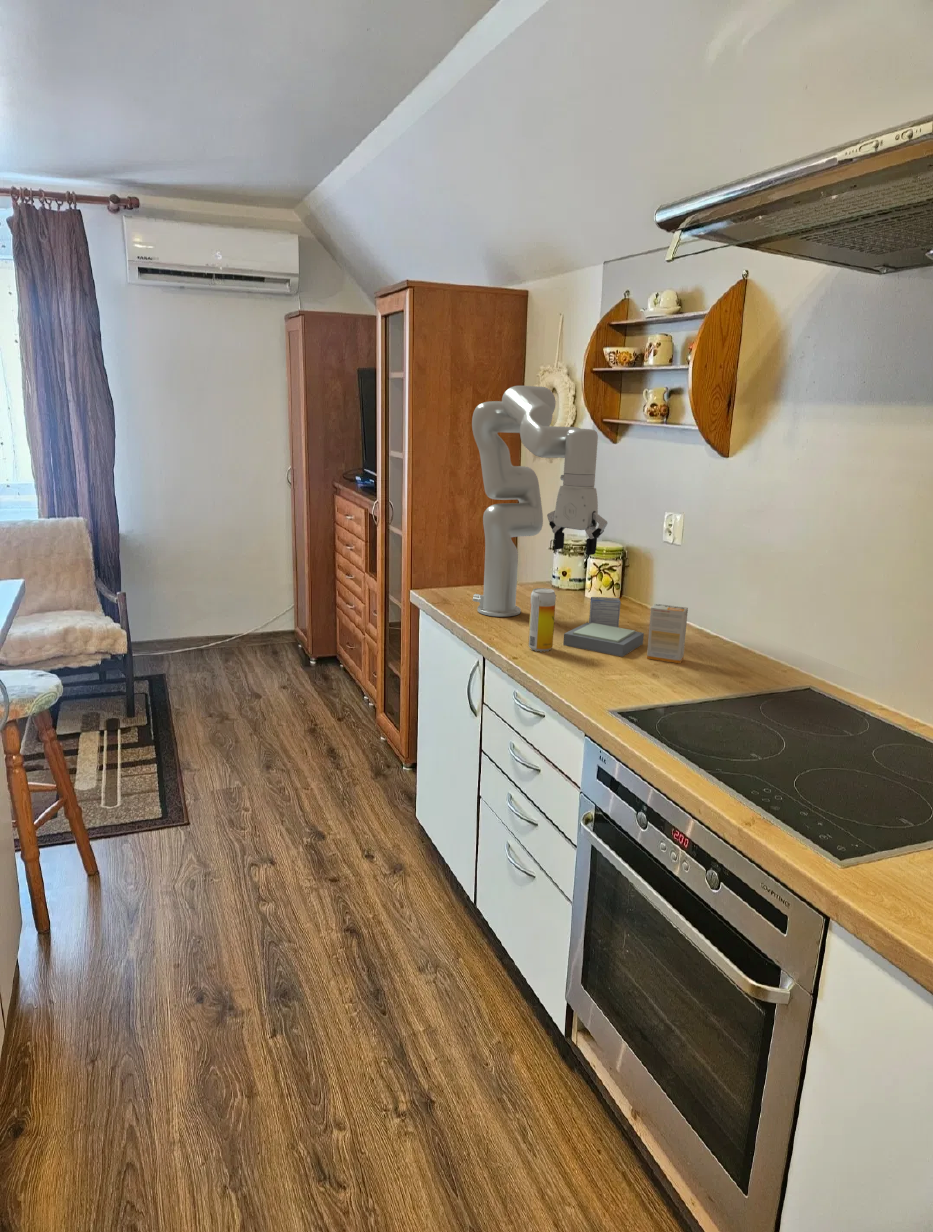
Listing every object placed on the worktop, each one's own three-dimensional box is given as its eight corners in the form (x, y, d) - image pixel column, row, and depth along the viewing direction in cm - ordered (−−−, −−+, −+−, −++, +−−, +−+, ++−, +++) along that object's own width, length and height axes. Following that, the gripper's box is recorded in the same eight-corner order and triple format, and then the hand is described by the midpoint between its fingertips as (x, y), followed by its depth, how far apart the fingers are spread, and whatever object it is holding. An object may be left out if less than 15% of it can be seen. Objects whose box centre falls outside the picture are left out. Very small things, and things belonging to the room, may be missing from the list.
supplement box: (683, 659, 200) (689, 607, 196) (680, 664, 195) (685, 611, 192) (650, 653, 203) (655, 602, 200) (645, 658, 199) (650, 606, 195)
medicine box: (617, 628, 226) (619, 597, 224) (618, 632, 222) (621, 601, 219) (588, 626, 226) (590, 596, 224) (589, 630, 222) (591, 599, 220)
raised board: (563, 644, 208) (564, 631, 207) (586, 633, 219) (586, 620, 218) (622, 656, 200) (623, 643, 199) (642, 644, 211) (644, 631, 210)
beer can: (557, 649, 204) (561, 590, 200) (542, 654, 199) (545, 594, 196) (538, 644, 208) (541, 586, 204) (522, 648, 203) (526, 589, 200)
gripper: (541, 479, 199) (537, 548, 203) (599, 485, 188) (594, 558, 192) (559, 477, 204) (555, 545, 209) (618, 483, 193) (612, 555, 197)
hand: (574, 551), depth 200 cm, fingers open, 9 cm apart
